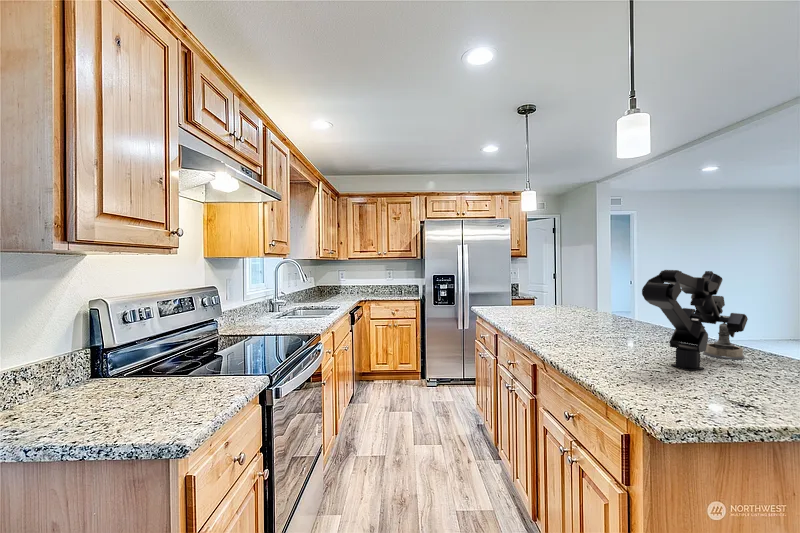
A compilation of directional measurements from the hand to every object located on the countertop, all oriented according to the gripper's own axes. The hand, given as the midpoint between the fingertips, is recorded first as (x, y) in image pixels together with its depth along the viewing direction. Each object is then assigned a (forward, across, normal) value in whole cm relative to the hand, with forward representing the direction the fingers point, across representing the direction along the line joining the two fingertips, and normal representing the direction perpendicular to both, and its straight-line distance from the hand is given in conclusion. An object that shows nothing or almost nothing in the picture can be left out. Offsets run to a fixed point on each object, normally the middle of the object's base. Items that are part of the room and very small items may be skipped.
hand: (717, 334), depth 140 cm
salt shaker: (+10, 0, +1) cm, 10 cm away
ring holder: (+10, 0, +2) cm, 11 cm away
